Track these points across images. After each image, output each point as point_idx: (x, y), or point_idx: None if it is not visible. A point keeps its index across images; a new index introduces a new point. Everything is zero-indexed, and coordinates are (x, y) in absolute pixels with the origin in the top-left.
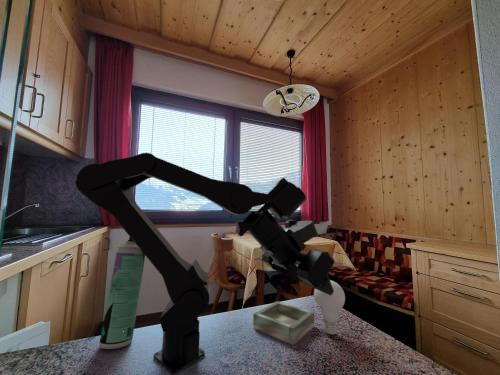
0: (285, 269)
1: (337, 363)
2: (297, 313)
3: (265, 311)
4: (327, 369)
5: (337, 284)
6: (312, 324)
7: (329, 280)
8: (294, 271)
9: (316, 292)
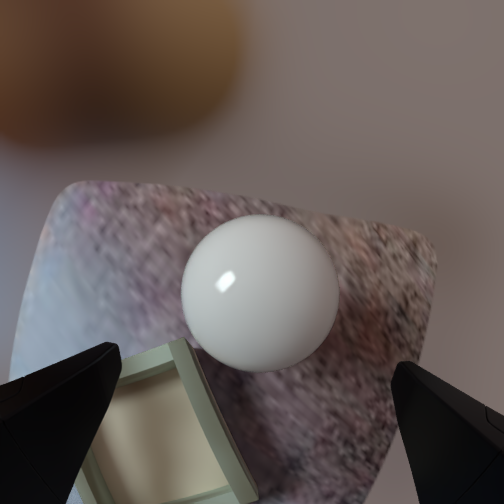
0: (46, 495)
1: (375, 424)
2: (136, 377)
3: (90, 485)
4: (380, 461)
5: (307, 241)
6: (197, 360)
7: (477, 404)
8: (69, 423)
9: (240, 363)
